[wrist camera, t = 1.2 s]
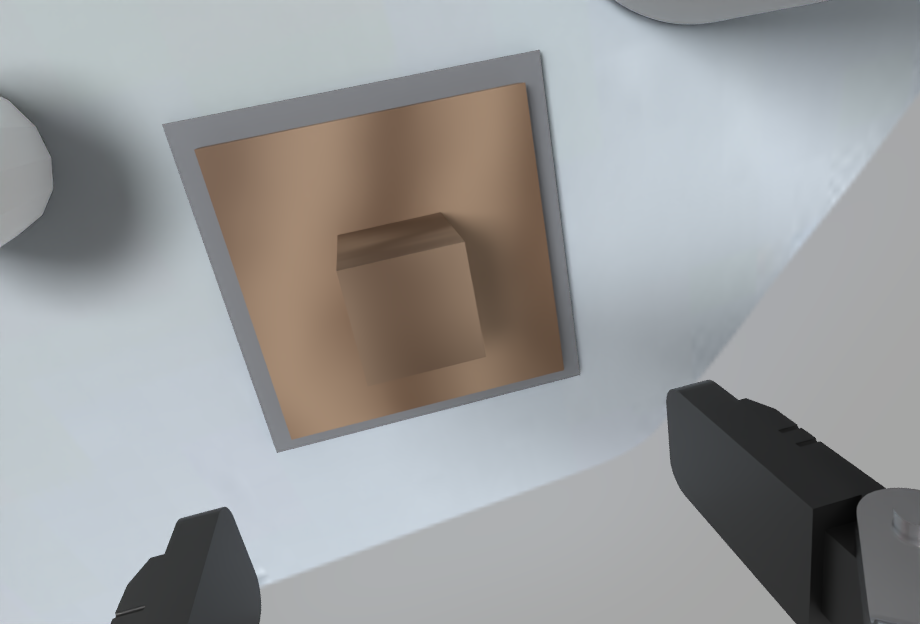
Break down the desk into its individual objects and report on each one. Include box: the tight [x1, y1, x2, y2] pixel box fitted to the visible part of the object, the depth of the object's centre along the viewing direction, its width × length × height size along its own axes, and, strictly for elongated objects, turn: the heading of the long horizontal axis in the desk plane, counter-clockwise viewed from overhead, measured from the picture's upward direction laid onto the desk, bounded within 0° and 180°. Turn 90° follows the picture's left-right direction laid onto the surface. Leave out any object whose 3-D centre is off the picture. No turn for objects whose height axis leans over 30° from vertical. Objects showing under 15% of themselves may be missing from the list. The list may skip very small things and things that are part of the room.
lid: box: [194, 82, 564, 440], centre depth 22 cm, size 12×12×6 cm
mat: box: [162, 50, 580, 453], centre depth 25 cm, size 14×14×1 cm
